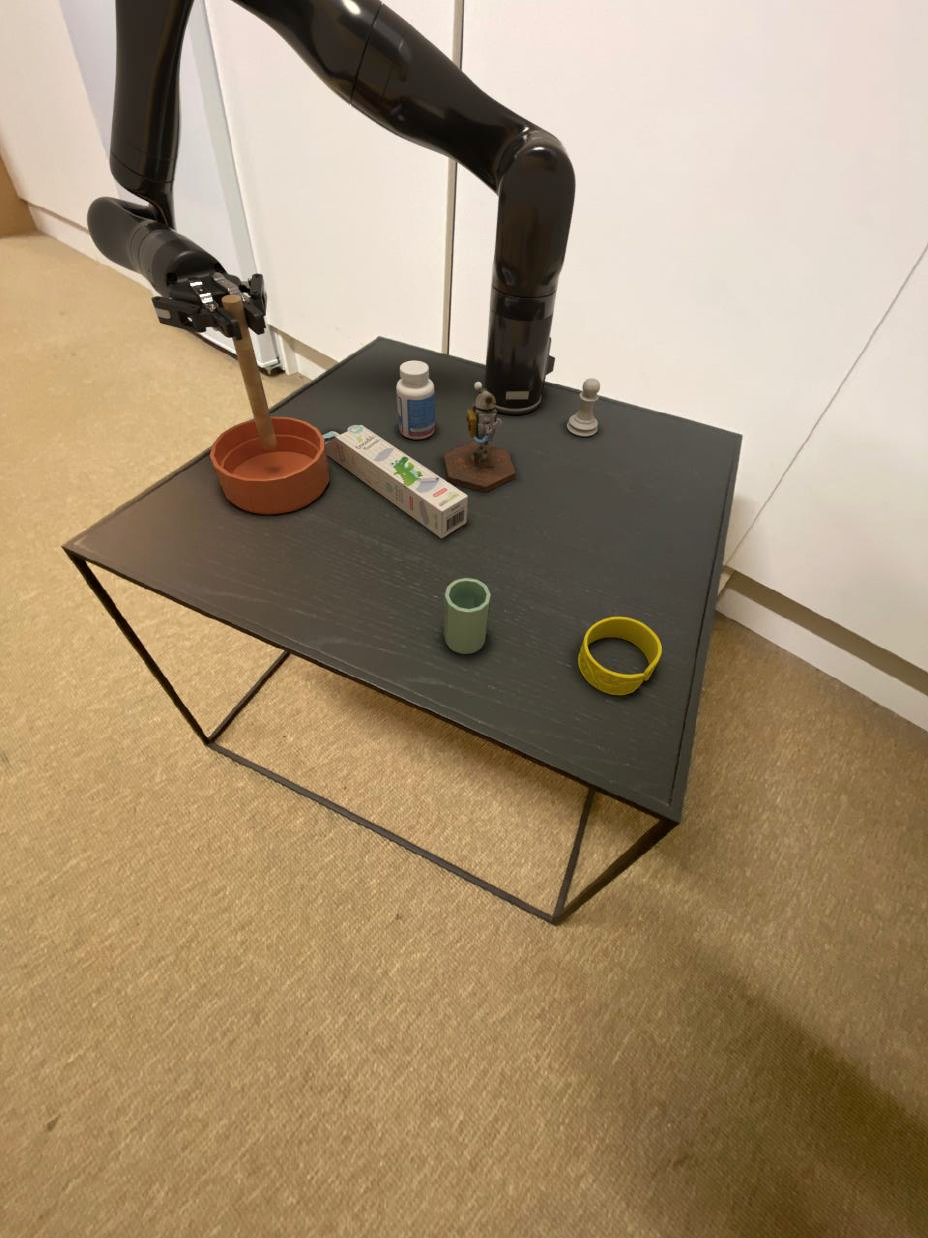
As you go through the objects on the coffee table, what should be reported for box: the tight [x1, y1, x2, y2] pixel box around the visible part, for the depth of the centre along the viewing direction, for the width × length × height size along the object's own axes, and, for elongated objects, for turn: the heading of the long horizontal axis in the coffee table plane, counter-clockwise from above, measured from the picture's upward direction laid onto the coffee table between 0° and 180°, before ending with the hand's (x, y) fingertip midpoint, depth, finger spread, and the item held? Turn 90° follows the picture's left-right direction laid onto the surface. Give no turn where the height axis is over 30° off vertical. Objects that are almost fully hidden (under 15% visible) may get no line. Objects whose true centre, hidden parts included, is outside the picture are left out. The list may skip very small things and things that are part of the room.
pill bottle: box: [396, 360, 436, 440], centre depth 82 cm, size 6×5×10 cm
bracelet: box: [577, 616, 663, 696], centre depth 58 cm, size 7×8×3 cm
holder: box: [443, 577, 492, 655], centre depth 58 cm, size 4×4×7 cm
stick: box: [222, 295, 277, 449], centre depth 67 cm, size 2×2×18 cm
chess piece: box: [566, 377, 601, 438], centre depth 84 cm, size 5×5×8 cm
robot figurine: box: [443, 381, 516, 493], centre depth 75 cm, size 11×9×12 cm
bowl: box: [209, 415, 331, 515], centre depth 74 cm, size 14×14×6 cm
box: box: [321, 424, 469, 539], centre depth 76 cm, size 4×4×28 cm
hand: (248, 327), depth 60 cm, fingers closed on stick, 2 cm apart
